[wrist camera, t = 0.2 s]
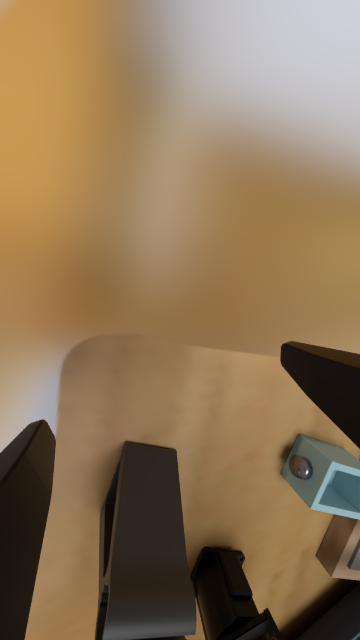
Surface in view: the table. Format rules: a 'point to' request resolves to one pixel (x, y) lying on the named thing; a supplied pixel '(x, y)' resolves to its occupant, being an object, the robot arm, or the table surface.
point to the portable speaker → (338, 621)
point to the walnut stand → (341, 548)
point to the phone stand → (144, 551)
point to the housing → (324, 476)
